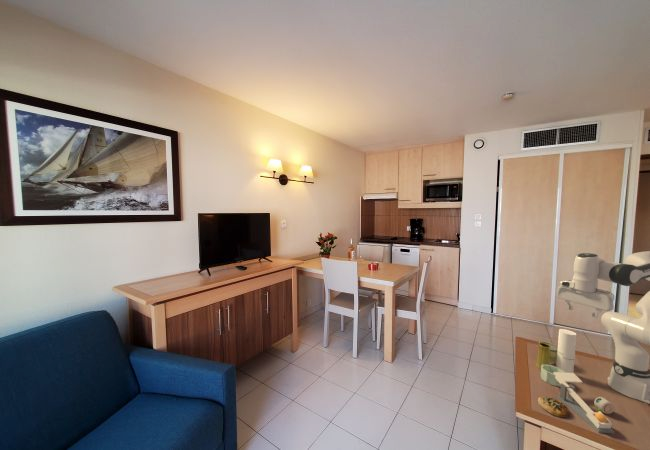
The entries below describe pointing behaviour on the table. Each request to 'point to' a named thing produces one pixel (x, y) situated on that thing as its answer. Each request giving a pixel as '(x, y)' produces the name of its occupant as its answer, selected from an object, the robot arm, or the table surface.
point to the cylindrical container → (566, 350)
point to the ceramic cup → (552, 352)
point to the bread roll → (553, 406)
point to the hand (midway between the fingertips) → (582, 313)
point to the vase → (543, 355)
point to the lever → (572, 378)
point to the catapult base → (577, 407)
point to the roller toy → (604, 405)
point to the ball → (601, 417)
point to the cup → (550, 374)
